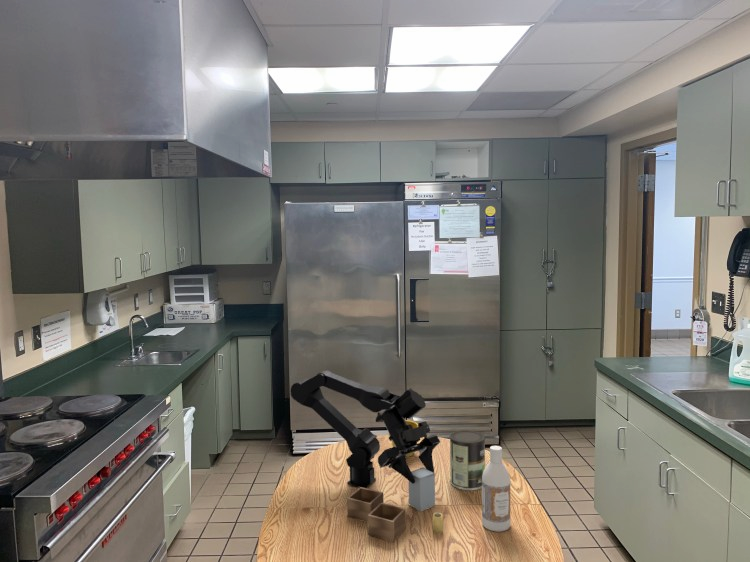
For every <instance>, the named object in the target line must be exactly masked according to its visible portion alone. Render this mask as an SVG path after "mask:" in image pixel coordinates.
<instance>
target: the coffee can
mask: <svg viewBox="0 0 750 562" xmlns="http://www.w3.org/2000/svg"><path fill="white" fill-rule="evenodd" d="M448 438H449V462H450V463H449V465H450V468H449V469H450V471H449V472H450V481H449V483H450V485H451V484H452V485H453V486H452V485H451V486H452V487H454V488H455V487H456V488H455V489H458V490H461V489H462V490H461V491H477V490H482V475H483V472H484V469H485V468H486V465H485V464H486V463H485V462H486V461H485V460H486V456H485V455H486V451H485V450H486V448H485V447H486V446H485V445H486V444H485V443H486V436H485V435H484V434H483V433H482V432H479V431H475V430H469V429H468V430H467V429H465V430H464V429H462V430H456V431H453V432H451V433H450V434H449V437H448Z"/></svg>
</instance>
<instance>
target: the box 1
mask: <svg viewBox="0 0 750 562" xmlns="http://www.w3.org/2000/svg"><path fill="white" fill-rule="evenodd" d="M384 502H385V501H384V492H383V491H378V490H375V489H370V488H368V487H367V488H363V487H358V489H356V490H355V491H354V492H353V493H351V494H350V495H349V496H348V497H347V498H346V507H347V508H346V510H347V512H346V513H347V515H346V516H347V518H352V519H354V520H357V521H358V520H359V521H363V522H366V523H368V514H369V513H371V512H372V511H373V510H374V509H375V508H376V507H377V506H378V505H379V504H380V503H384Z"/></svg>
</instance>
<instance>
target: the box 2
mask: <svg viewBox="0 0 750 562" xmlns="http://www.w3.org/2000/svg"><path fill="white" fill-rule="evenodd" d="M406 528H407V509H406V508H404V507H400V506H396V505H392V504H388V503H380V504H379V505H378V506H377V507H376V508H375V509H374V510H373V511H372V512H371V513H369V514H368V522H367V535H368V536H370V537H374V538H377V539H381V540H385V541H388V542H390V543H395V542H396V540H397V539H398V538H399V537H400V536H401V535H402V534H403V532H404V531H405V530H406Z"/></svg>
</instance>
